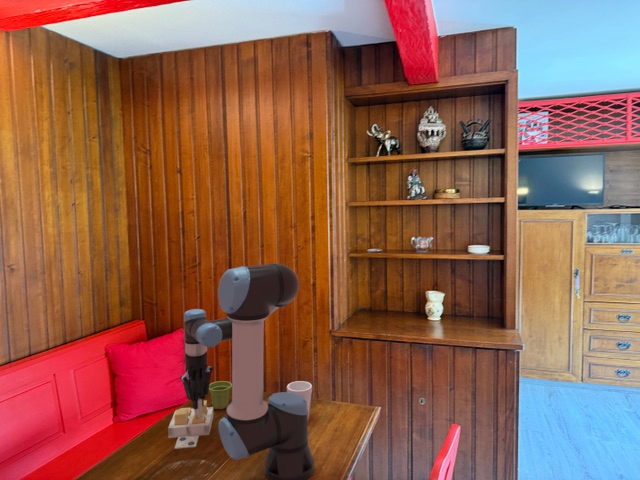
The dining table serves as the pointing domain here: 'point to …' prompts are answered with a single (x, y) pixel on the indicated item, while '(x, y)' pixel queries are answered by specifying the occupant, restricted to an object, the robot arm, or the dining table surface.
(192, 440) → the pattern card
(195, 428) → the board
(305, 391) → the foam cup
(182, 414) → the button near left
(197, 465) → the dining table surface
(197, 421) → the button near right
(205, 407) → the button far right
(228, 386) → the plant pot
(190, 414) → the tan cube block
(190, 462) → the dining table surface
